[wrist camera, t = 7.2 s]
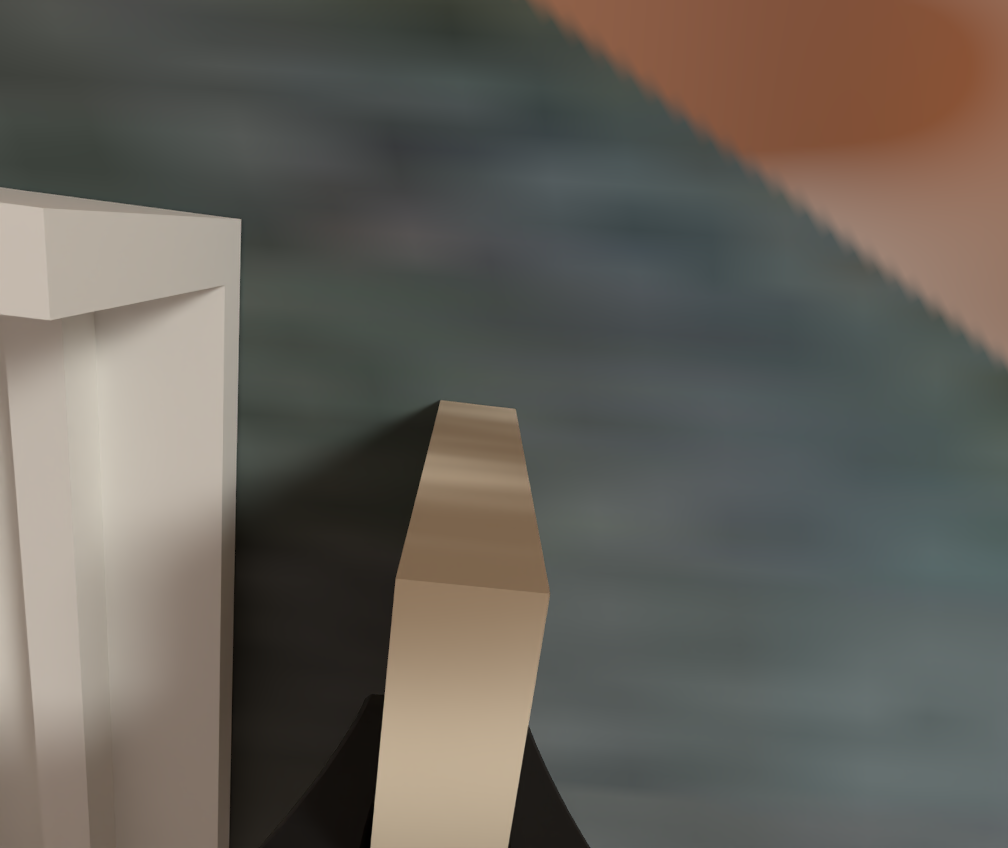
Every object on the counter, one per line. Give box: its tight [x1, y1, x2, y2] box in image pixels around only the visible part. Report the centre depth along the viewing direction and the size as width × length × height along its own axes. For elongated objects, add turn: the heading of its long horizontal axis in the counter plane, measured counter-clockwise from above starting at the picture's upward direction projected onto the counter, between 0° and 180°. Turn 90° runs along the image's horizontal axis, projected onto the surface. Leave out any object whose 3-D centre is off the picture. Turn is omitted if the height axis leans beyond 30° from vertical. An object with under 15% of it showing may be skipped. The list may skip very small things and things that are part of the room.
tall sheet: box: [370, 400, 550, 848], centre depth 12 cm, size 12×2×8 cm, turn 173°
